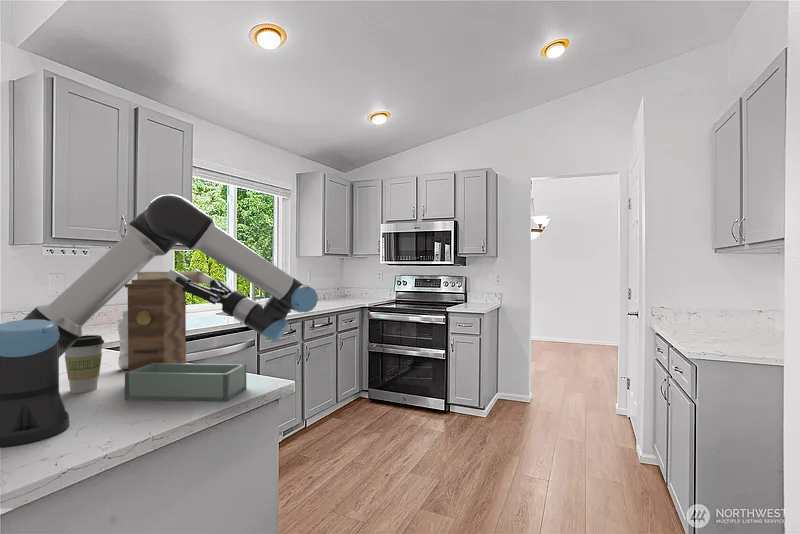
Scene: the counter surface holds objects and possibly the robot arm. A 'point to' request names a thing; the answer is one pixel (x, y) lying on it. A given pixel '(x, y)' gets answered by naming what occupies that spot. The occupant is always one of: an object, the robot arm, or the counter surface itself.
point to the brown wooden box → (156, 323)
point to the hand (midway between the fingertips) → (181, 272)
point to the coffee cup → (84, 363)
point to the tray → (185, 382)
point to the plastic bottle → (123, 341)
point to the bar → (161, 275)
